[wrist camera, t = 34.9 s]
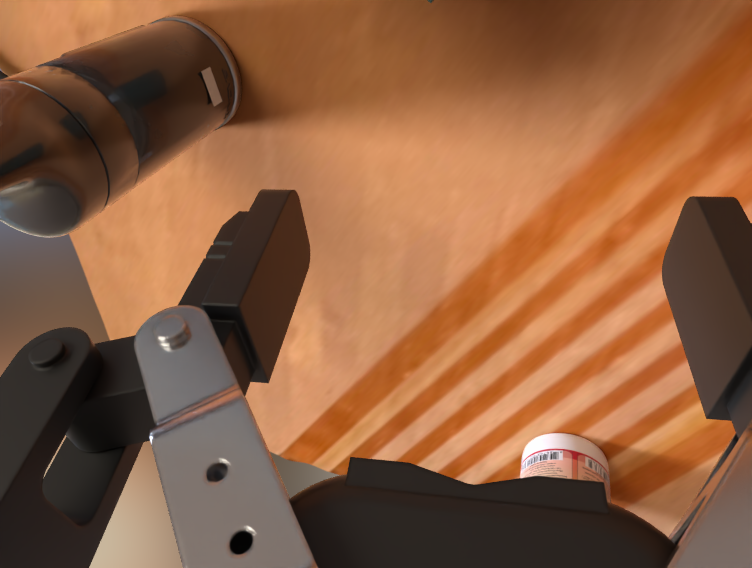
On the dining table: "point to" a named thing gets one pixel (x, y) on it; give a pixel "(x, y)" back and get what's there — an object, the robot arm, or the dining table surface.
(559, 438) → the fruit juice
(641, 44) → the dining table surface
